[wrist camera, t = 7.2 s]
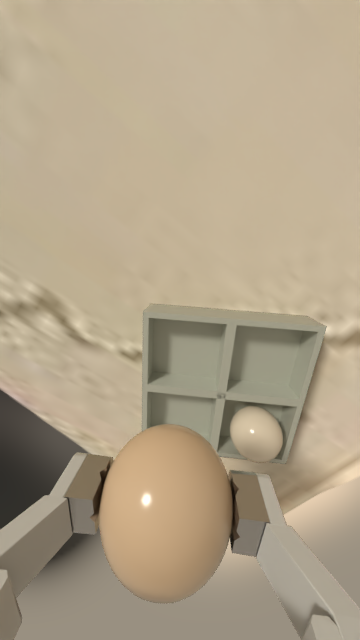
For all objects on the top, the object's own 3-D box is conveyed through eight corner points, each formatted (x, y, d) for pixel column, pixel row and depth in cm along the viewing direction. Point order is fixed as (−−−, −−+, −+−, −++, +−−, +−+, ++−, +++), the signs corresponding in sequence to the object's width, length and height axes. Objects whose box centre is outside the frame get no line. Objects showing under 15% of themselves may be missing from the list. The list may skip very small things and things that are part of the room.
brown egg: (229, 404, 9) (264, 551, 5) (216, 481, 11) (234, 650, 6) (124, 394, 9) (58, 525, 5) (125, 471, 11) (76, 627, 6)
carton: (307, 316, 19) (326, 326, 16) (275, 439, 24) (285, 464, 21) (150, 303, 20) (142, 311, 17) (148, 425, 25) (141, 447, 22)
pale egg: (276, 398, 21) (298, 436, 17) (267, 434, 23) (285, 478, 18) (229, 393, 22) (238, 430, 17) (223, 429, 23) (230, 472, 18)
